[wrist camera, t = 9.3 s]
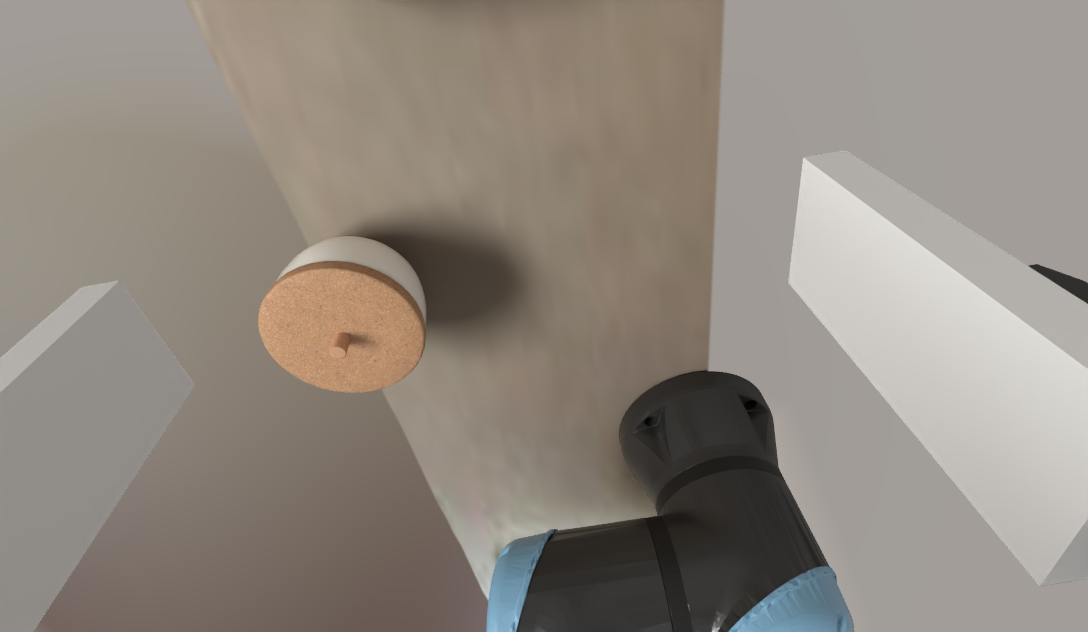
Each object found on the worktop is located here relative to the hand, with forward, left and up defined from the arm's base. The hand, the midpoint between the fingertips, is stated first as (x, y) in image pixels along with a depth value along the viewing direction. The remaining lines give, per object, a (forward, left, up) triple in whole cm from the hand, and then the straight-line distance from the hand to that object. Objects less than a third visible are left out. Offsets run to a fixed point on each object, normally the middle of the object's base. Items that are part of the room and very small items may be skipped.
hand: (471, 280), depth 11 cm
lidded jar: (-15, +13, -28) cm, 35 cm away
